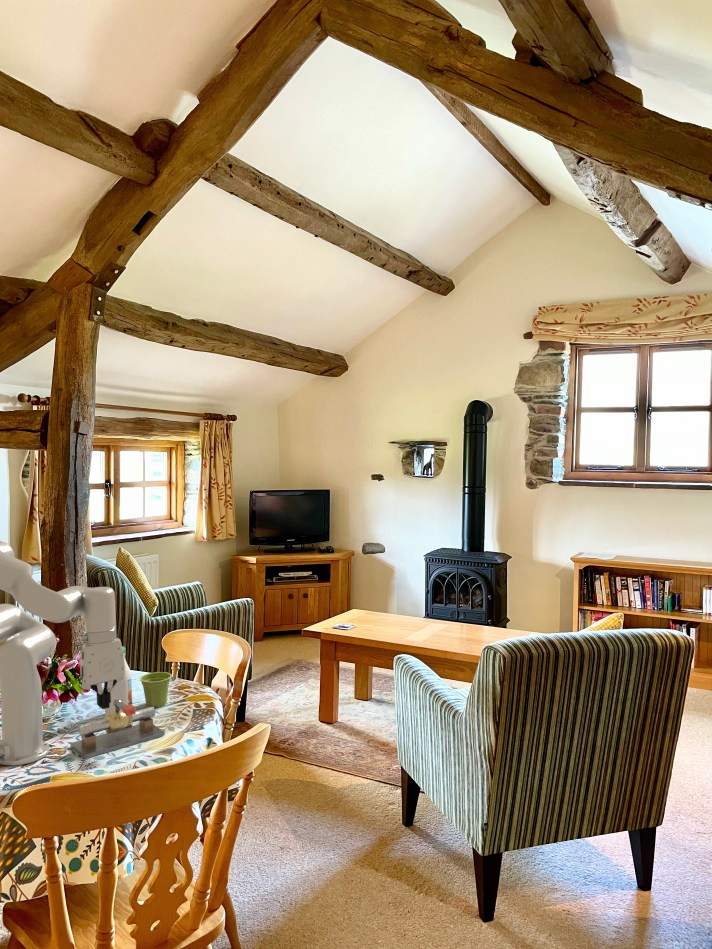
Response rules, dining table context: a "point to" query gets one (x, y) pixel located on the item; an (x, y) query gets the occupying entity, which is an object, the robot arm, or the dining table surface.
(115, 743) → the stand
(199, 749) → the dining table surface
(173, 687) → the dining table surface
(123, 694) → the milk bottle
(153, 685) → the plant pot
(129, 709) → the valve lever
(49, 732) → the dining table surface
